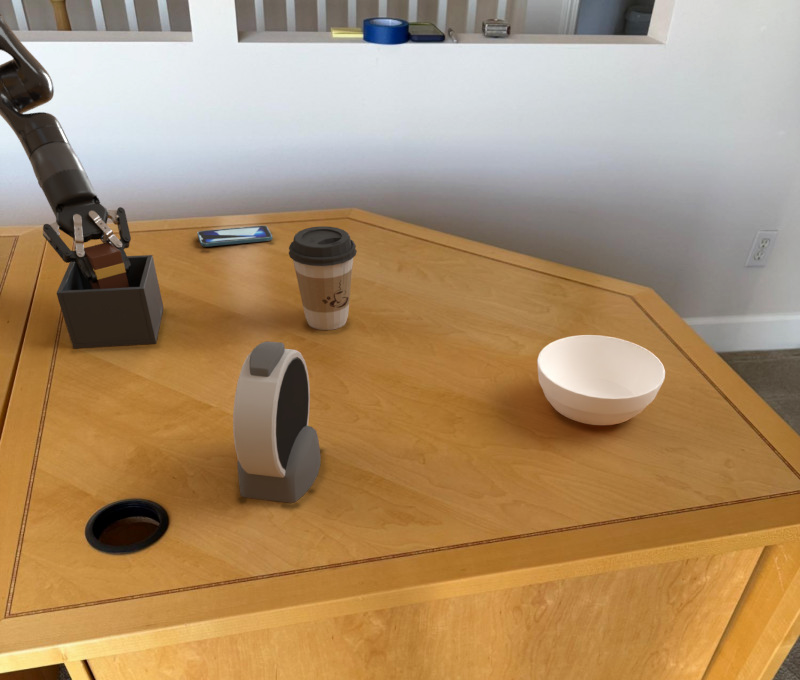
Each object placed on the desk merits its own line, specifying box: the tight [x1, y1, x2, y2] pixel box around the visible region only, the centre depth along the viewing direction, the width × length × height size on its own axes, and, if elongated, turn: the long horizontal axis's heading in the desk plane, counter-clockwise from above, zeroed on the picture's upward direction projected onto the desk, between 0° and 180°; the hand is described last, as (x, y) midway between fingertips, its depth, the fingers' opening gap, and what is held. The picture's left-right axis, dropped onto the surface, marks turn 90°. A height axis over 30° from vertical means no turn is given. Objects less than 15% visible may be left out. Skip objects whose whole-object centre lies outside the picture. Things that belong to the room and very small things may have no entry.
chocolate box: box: [84, 242, 129, 289], centre depth 128 cm, size 5×5×8 cm
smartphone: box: [197, 225, 273, 247], centre depth 164 cm, size 7×1×15 cm
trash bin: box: [55, 254, 164, 350], centre depth 132 cm, size 14×14×10 cm
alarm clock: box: [232, 340, 322, 504], centre depth 98 cm, size 16×10×18 cm, turn 170°
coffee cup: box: [288, 225, 358, 331], centre depth 132 cm, size 11×11×15 cm
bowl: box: [536, 334, 666, 426], centre depth 114 cm, size 18×18×7 cm
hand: (110, 276), depth 127 cm, fingers closed on chocolate box, 5 cm apart
